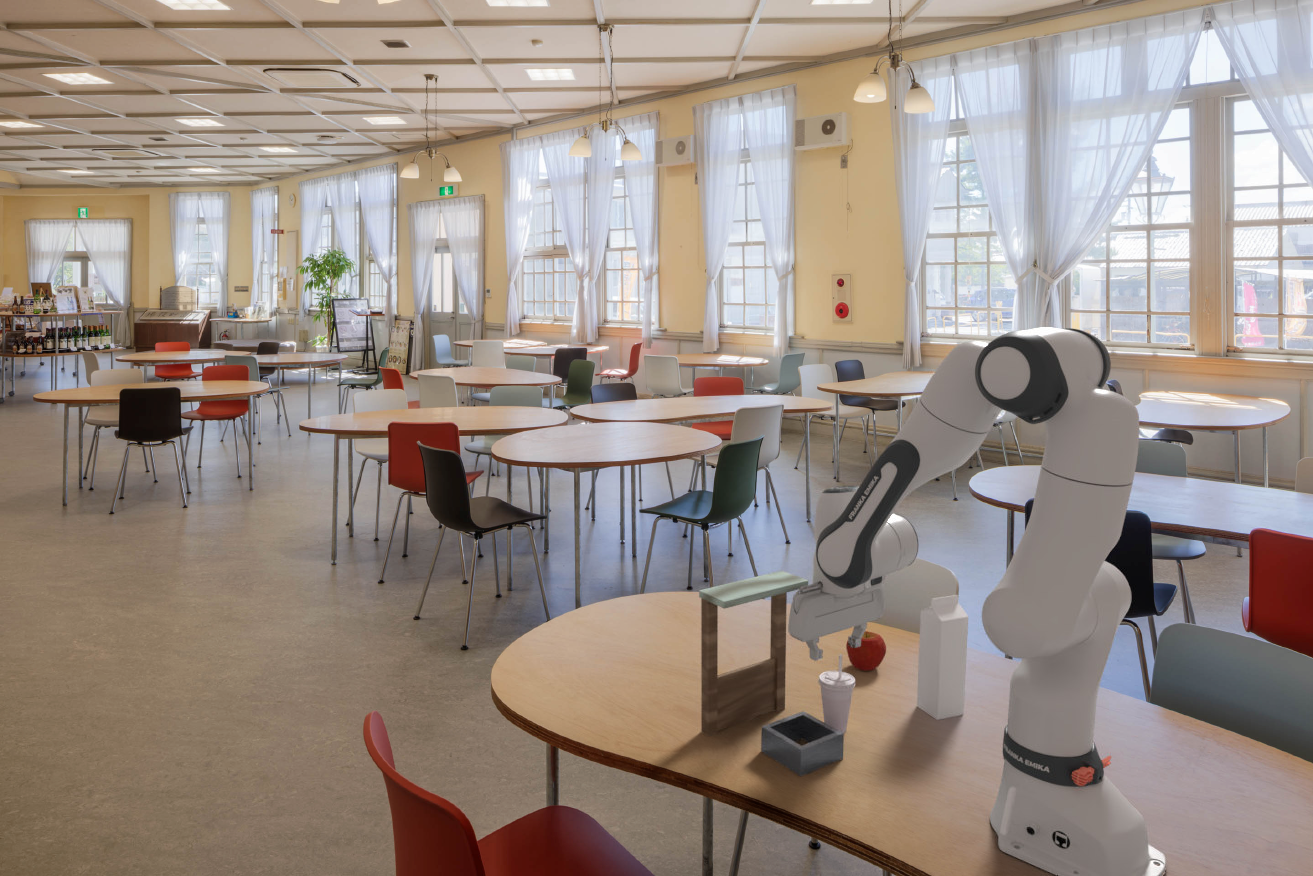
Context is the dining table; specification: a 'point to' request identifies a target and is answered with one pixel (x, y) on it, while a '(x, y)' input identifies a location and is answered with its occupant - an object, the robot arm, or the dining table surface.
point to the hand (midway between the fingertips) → (835, 652)
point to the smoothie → (836, 696)
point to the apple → (867, 652)
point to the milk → (942, 658)
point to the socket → (805, 758)
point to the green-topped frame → (754, 684)
